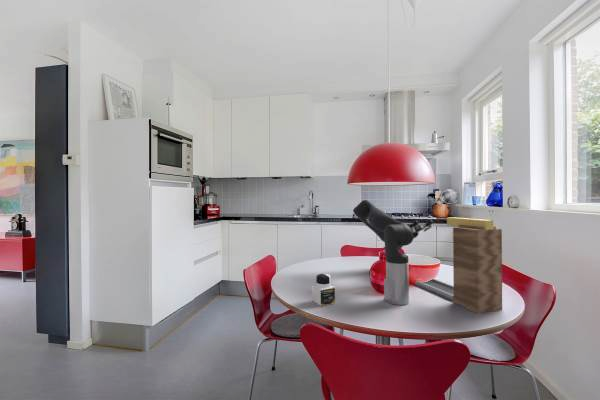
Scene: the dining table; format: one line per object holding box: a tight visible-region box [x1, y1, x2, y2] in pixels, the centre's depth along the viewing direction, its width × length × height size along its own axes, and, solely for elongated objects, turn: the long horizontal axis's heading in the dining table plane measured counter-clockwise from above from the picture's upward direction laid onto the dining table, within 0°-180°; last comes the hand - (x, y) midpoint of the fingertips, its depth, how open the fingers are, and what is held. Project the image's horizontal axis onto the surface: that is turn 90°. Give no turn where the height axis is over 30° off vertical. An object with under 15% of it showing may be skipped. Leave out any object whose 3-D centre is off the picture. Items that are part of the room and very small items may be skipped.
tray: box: [414, 278, 454, 302], centre depth 137 cm, size 11×25×2 cm, turn 15°
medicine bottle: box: [312, 273, 336, 307], centre depth 123 cm, size 7×7×12 cm
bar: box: [446, 216, 494, 230], centre depth 121 cm, size 4×20×4 cm, turn 15°
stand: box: [452, 225, 503, 314], centre depth 118 cm, size 12×12×33 cm
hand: (424, 221), depth 148 cm, fingers open, 8 cm apart
